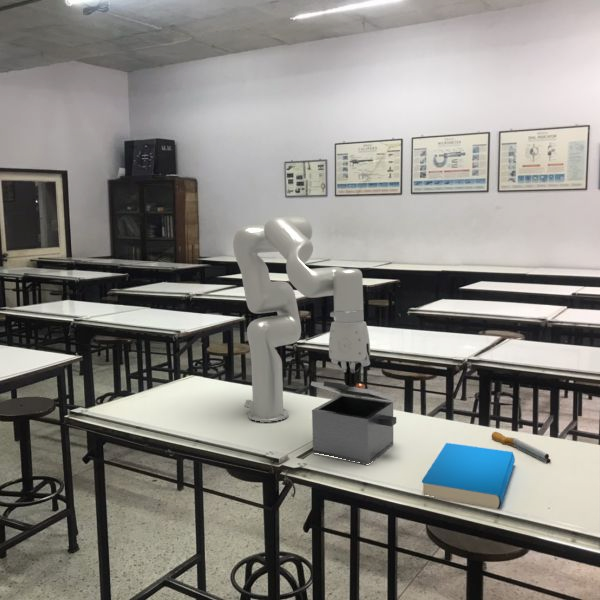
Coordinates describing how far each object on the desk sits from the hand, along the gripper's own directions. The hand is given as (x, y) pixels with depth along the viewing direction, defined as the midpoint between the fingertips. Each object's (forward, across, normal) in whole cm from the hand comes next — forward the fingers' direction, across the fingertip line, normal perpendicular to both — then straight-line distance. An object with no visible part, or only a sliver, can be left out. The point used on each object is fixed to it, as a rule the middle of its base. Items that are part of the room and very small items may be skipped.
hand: (351, 386), depth 159 cm
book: (+20, +31, -1) cm, 37 cm away
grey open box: (+18, +1, +3) cm, 18 cm away
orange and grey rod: (+19, +37, +23) cm, 48 cm away
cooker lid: (+2, -1, +1) cm, 2 cm away
